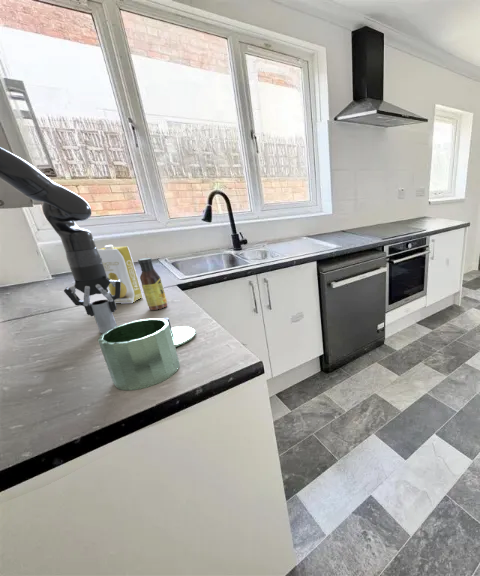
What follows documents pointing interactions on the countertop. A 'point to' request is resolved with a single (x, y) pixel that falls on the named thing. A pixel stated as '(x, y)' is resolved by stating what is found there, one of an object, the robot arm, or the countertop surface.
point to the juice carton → (121, 272)
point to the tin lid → (181, 334)
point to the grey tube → (103, 315)
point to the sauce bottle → (152, 285)
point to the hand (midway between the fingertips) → (103, 313)
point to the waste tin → (139, 353)
